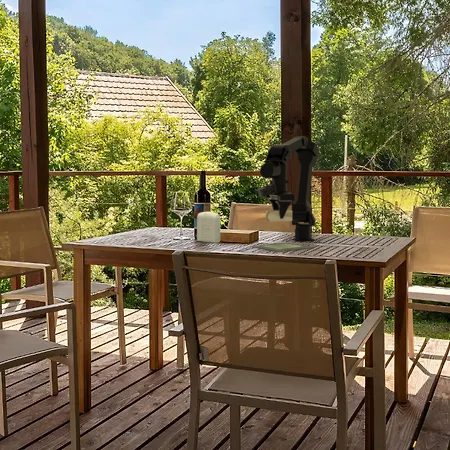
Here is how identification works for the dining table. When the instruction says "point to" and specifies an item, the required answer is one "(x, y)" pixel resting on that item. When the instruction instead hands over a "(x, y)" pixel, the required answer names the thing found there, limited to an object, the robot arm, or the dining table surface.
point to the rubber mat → (282, 247)
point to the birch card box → (278, 216)
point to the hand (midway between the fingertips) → (279, 218)
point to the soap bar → (208, 227)
